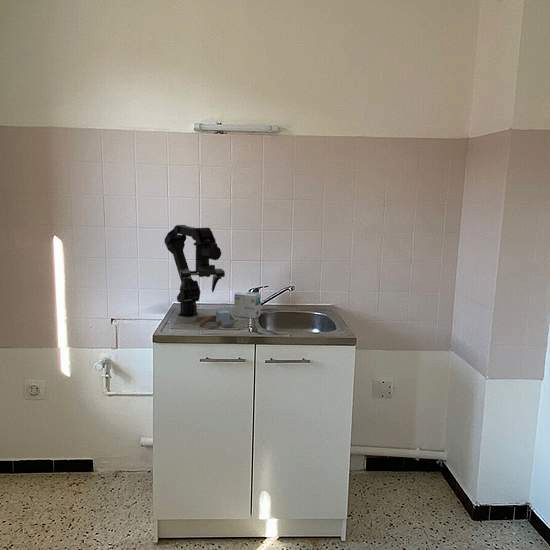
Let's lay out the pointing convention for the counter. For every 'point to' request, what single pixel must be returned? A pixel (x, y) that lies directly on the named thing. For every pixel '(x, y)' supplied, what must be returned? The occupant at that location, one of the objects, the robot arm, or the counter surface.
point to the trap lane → (210, 318)
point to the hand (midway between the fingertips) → (201, 292)
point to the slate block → (223, 316)
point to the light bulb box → (247, 304)
